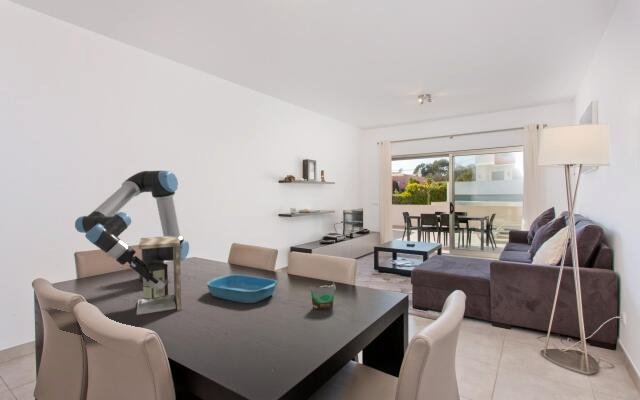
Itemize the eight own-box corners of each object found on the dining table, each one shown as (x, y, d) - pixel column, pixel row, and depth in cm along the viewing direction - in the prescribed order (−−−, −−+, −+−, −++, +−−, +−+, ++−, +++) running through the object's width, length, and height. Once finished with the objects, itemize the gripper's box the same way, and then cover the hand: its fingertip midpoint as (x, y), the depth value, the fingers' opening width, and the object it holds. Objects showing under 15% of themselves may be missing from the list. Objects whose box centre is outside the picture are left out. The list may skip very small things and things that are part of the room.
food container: (316, 313, 136) (315, 289, 136) (309, 308, 142) (309, 286, 142) (341, 308, 142) (341, 285, 142) (334, 303, 147) (334, 282, 147)
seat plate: (136, 314, 136) (136, 308, 136) (138, 301, 152) (138, 296, 152) (175, 308, 143) (175, 303, 143) (173, 296, 159) (173, 291, 159)
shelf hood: (140, 316, 134) (138, 245, 133) (142, 299, 155) (140, 238, 154) (181, 310, 141) (179, 242, 140) (177, 294, 162) (176, 235, 162)
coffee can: (156, 292, 154) (155, 262, 153) (173, 294, 150) (172, 264, 150) (137, 299, 144) (136, 267, 144) (155, 301, 141) (154, 269, 140)
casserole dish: (197, 296, 160) (197, 282, 160) (230, 284, 179) (230, 272, 179) (256, 309, 142) (256, 293, 142) (285, 294, 162) (285, 280, 162)
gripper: (117, 254, 150) (156, 284, 157) (112, 264, 130) (157, 297, 137) (130, 242, 152) (168, 271, 160) (127, 250, 132) (170, 283, 140)
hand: (163, 283), depth 148 cm, fingers closed on coffee can, 10 cm apart
